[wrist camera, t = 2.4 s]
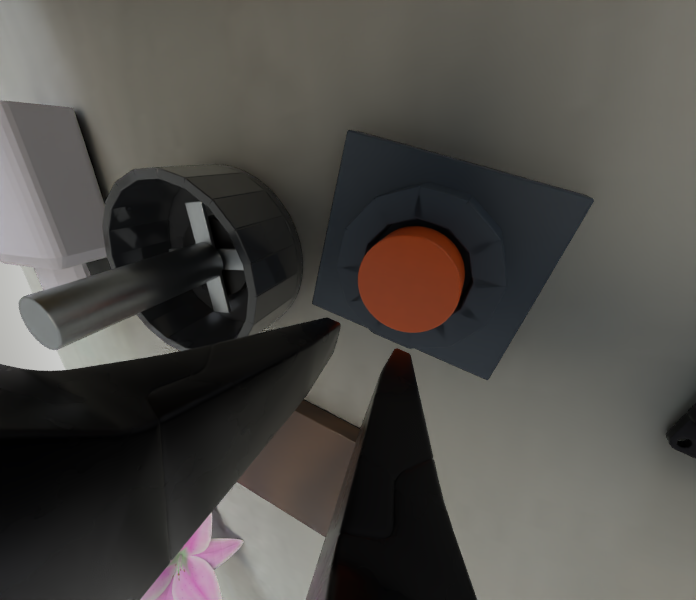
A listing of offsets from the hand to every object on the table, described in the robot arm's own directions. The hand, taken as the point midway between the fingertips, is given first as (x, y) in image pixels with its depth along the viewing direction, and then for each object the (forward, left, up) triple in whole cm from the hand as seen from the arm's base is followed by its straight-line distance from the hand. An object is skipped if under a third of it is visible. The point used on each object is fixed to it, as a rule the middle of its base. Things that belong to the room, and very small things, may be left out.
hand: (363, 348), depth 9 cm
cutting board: (+6, +19, -9) cm, 22 cm away
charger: (+26, +7, -9) cm, 28 cm away
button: (0, 0, -6) cm, 6 cm away
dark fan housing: (+12, +4, -9) cm, 15 cm away
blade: (+12, +4, -8) cm, 15 cm away
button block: (0, 0, -9) cm, 9 cm away
